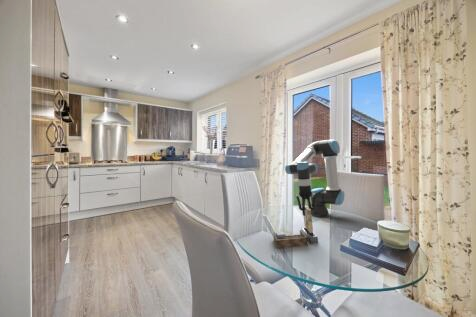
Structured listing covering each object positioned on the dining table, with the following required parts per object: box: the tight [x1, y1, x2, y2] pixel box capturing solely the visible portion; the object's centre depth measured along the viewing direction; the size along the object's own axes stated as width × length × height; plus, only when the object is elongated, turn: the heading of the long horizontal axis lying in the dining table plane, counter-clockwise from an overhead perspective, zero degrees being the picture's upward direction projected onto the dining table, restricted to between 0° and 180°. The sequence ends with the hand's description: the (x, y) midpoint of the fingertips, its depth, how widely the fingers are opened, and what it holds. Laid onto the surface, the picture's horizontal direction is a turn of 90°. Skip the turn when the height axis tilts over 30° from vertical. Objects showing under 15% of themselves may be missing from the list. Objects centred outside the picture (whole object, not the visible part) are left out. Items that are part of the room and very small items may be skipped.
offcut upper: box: [275, 231, 287, 238], centre depth 129 cm, size 5×5×3 cm
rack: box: [272, 229, 309, 249], centre depth 127 cm, size 19×12×5 cm, turn 88°
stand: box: [301, 226, 319, 244], centre depth 131 cm, size 16×5×4 cm, turn 178°
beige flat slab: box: [303, 204, 314, 233], centre depth 131 cm, size 11×2×15 cm, turn 178°
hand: (307, 220), depth 131 cm, fingers closed on beige flat slab, 2 cm apart
